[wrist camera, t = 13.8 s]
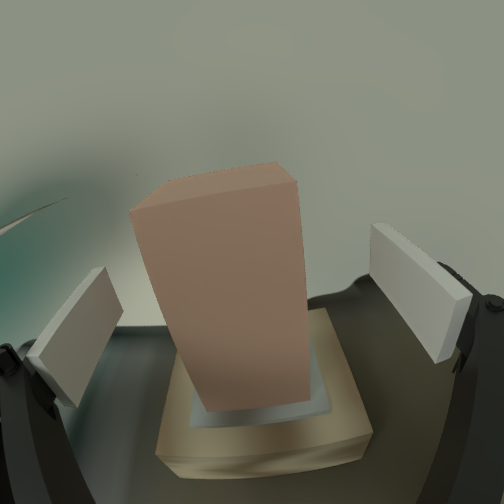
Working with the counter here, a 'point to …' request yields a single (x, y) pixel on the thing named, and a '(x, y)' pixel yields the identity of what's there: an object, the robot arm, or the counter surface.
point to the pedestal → (269, 422)
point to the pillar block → (231, 282)
